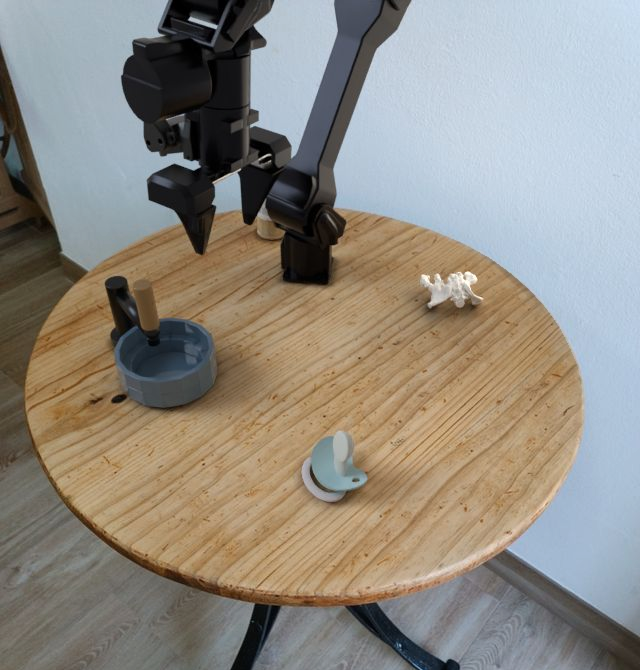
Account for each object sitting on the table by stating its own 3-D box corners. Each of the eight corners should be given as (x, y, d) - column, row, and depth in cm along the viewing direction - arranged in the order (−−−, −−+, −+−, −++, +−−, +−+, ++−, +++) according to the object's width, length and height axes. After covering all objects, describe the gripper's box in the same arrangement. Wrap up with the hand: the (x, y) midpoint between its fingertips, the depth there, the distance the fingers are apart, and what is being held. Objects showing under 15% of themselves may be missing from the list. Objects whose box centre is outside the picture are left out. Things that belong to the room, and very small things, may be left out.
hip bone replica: (475, 260, 93) (492, 285, 88) (470, 287, 96) (486, 313, 91) (418, 264, 92) (432, 289, 87) (415, 292, 95) (428, 318, 90)
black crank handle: (114, 331, 86) (91, 243, 77) (133, 323, 87) (113, 236, 78) (154, 382, 80) (134, 293, 71) (174, 373, 81) (157, 284, 72)
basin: (226, 351, 85) (223, 322, 82) (204, 415, 78) (199, 386, 75) (139, 342, 86) (132, 313, 83) (108, 404, 79) (99, 375, 75)
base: (152, 331, 88) (150, 323, 87) (141, 353, 85) (139, 346, 84) (118, 327, 88) (117, 320, 87) (107, 349, 85) (104, 342, 84)
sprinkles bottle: (292, 235, 104) (290, 148, 94) (266, 244, 102) (261, 156, 92) (276, 221, 107) (273, 135, 97) (251, 230, 105) (245, 143, 95)
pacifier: (319, 514, 69) (372, 495, 70) (317, 475, 64) (375, 455, 66) (291, 462, 73) (343, 445, 75) (288, 423, 69) (343, 405, 70)
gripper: (216, 61, 79) (219, 191, 90) (97, 102, 67) (117, 246, 78) (297, 85, 75) (290, 218, 86) (187, 133, 63) (194, 280, 74)
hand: (224, 238), depth 81 cm, fingers open, 9 cm apart
